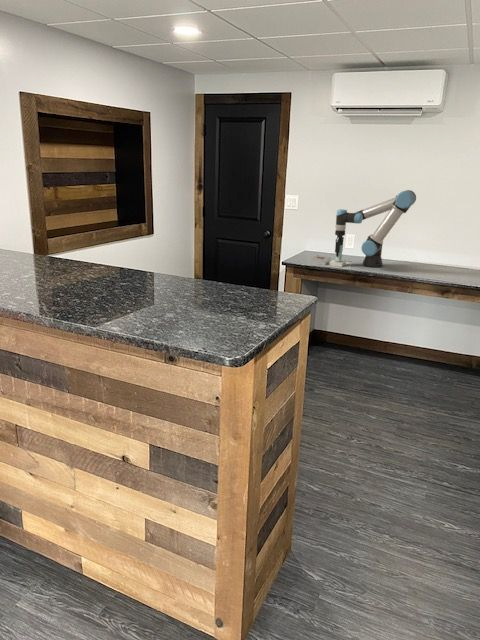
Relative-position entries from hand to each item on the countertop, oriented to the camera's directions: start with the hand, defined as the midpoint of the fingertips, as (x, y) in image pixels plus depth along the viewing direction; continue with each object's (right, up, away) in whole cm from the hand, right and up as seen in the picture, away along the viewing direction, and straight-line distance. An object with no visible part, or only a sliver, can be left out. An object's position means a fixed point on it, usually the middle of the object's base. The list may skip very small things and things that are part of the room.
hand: (338, 259), depth 395 cm
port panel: (-13, -1, +8) cm, 15 cm away
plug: (0, -4, +1) cm, 4 cm away
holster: (0, -4, +1) cm, 4 cm away
